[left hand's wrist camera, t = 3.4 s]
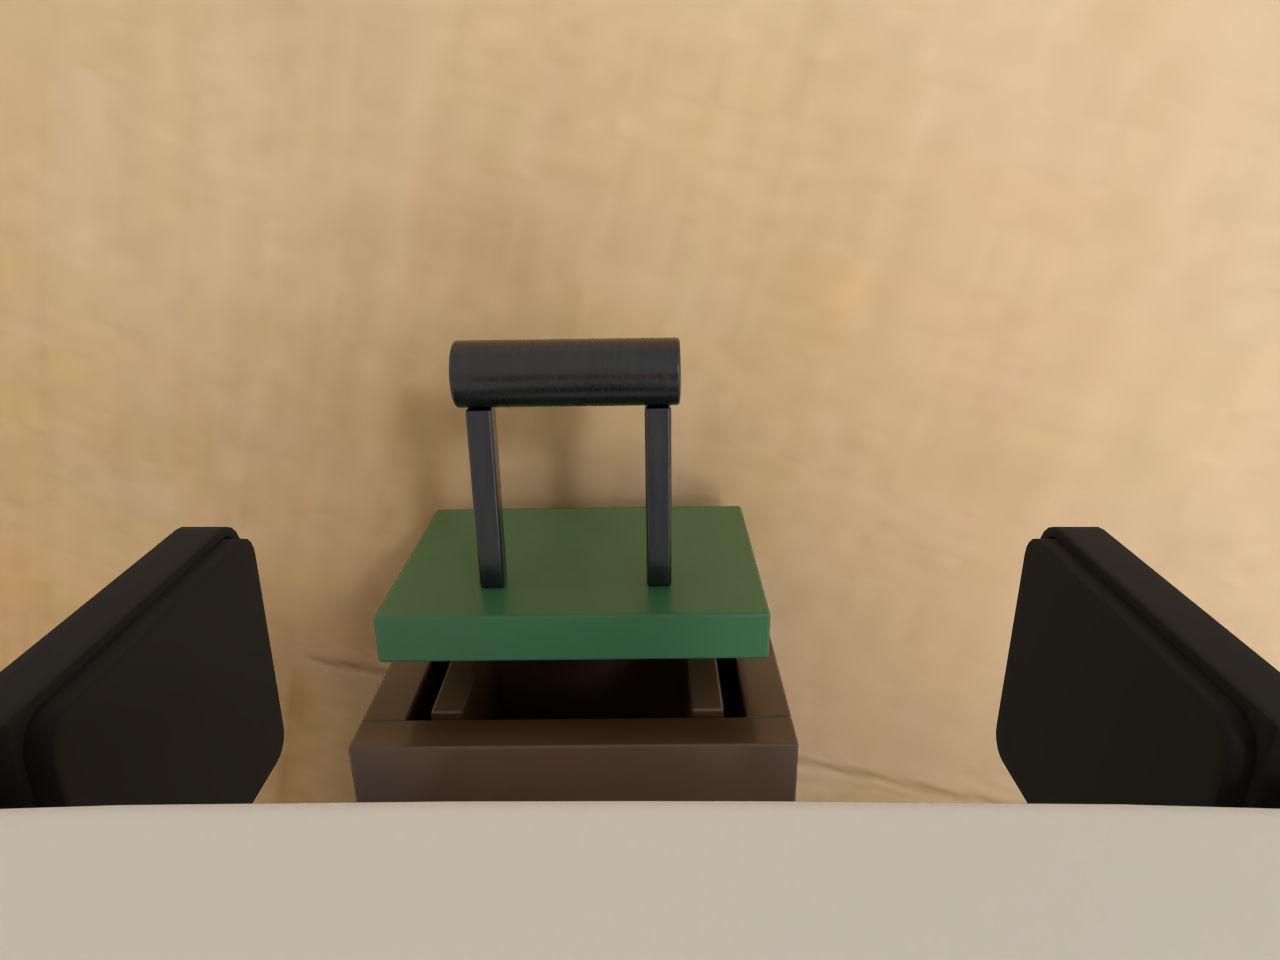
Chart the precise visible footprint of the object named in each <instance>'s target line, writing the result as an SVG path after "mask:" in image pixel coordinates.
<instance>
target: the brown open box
mask: <svg viewBox="0 0 1280 960" xmlns="http://www.w3.org/2000/svg"><path fill="white" fill-rule="evenodd" d="M450 662H451V661H412V662H392V663H391V665H390V667H389V669H388V671H387V673H386V675H385V677H384V679H383V681H382V683H381V685H380V687H379V689H378V691H377V693H376V695H375V697H374V699H373V701H372V703H371V705H370V707H369V709H368V711H367V713H366V715H365V717H364V719H363V722H362V723H361V725H360V727H359V729H358V731H357V733H356V735H355V737H354V739H353V741H352V743H351V744H350V746H349V755H350V762H351V768H352V775H353V782H354V788H355V795H356V801H357V803H364V802H470V801H780V802H795V799H796V781H797V762H798V741H797V737H796V733H795V730H794V726H793V722H792V719H791V714H790V710H789V707H788V703H787V699H786V695H785V692H784V688H783V684H782V680H781V676H780V673H779V669H778V665H777V661H776V657H775V654H774V650H773V646H772V642H771V639H770V638H769V655H768V657H767V658H717V665H718V672H719V679H720V686H721V692H722V699H723V706H724V718H637V719H535V720H433V721H432V717H431V712H432V709H433V706H434V704H435V701H436V699H437V696H438V693H439V691H440V688H441V686H442V683H443V680H444V678H445V675H446V673H447V670H448V667H449V665H450Z"/></svg>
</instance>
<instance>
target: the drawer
mask: <svg viewBox="0 0 1280 960" xmlns="http://www.w3.org/2000/svg"><path fill="white" fill-rule="evenodd" d="M449 382H450V390H451V395H452V399H453V402H454V404H455V406H456V407H459V408H468V409H467V410H466V422H467V434H468V446H469V457H470V469H471V481H472V493H473V505H474V510H438V511H437V512H436V514H435V515H434V517H433V519H432V520H431V522H430V524H429V526H428V527H427V529H426V531H425V532H424V534H423V536H422V537H421V539H420V541H419V542H418V544H417V546H416V548H415V549H414V551H413V553H412V554H411V556H410V558H409V559H408V561H407V563H406V564H405V566H404V568H403V570H402V571H401V573H400V575H399V576H398V578H397V580H396V581H395V583H394V585H393V586H392V588H391V590H390V592H389V593H388V595H387V597H386V598H385V600H384V602H383V603H382V605H381V607H380V608H379V610H378V612H377V614H376V615H375V617H374V626H375V633H376V641H377V648H378V656H379V660H380V661H381V662H412V661H451V662H450V665H449V667H448V670H447V673H446V675H445V678H444V680H443V683H442V686H441V688H440V691H439V693H438V696H437V699H436V701H435V704H434V706H433V709H432V712H431V717H432V721H433V720H535V719H637V718H724V706H723V699H722V692H721V686H720V679H719V672H718V665H717V658H767V657H768V655H769V638H770V612H769V608H768V605H767V601H766V597H765V594H764V590H763V587H762V583H761V579H760V576H759V572H758V568H757V565H756V561H755V558H754V554H753V550H752V547H751V543H750V540H749V536H748V532H747V529H746V525H745V522H744V518H743V514H742V511H741V508H740V507H739V506H728V507H671V405H678V404H679V403H680V389H681V365H680V341H679V338H615V339H542V340H470V341H455V342H453V344H452V347H451V351H450V357H449ZM631 405H645V467H646V507H645V508H562V509H502V497H501V483H500V469H499V456H498V442H497V428H496V414H495V407H555V406H631Z"/></svg>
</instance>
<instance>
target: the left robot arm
mask: <svg viewBox="0 0 1280 960" xmlns="http://www.w3.org/2000/svg"><path fill="white" fill-rule="evenodd" d="M283 741H284V728H283V721H282V715H281V709H280V703H279V697H278V690H277V684H276V678H275V672H274V666H273V660H272V654H271V648H270V642H269V636H268V630H267V623H266V617H265V611H264V605H263V599H262V593H261V587H260V581H259V575H258V569H257V563H256V556H255V552H254V548H253V546H252V544H251V542H250V541H249V540H248V539H240V538H239V536H238V535H237V533H236V531H235V530H233V529H232V528H230V527H181V528H179V529H177V530H175V531H174V532H173V533H172V534H170V535H169V536H168V537H167V538H165V539H164V540H163V541H162V542H161V543H159V544H158V545H157V546H156V547H154V548H153V549H152V550H151V551H149V552H148V553H147V554H146V555H144V556H143V557H142V558H141V559H140V560H138V561H137V562H136V563H135V564H133V565H132V566H131V567H130V568H128V569H127V570H126V571H125V572H123V573H122V574H121V575H120V576H119V577H117V578H116V579H115V580H114V581H112V582H111V583H110V584H109V585H107V586H106V587H105V588H104V589H102V590H101V591H100V592H99V593H98V594H96V595H95V596H94V597H93V598H91V599H90V600H89V601H88V602H86V603H85V604H84V605H83V606H81V607H80V608H79V609H78V610H77V611H75V612H74V613H73V614H72V615H70V616H69V617H68V618H67V619H65V620H64V621H63V622H62V623H60V624H59V625H58V626H57V627H56V628H54V629H53V630H52V631H51V632H49V633H48V634H47V635H46V636H44V637H43V638H42V639H41V640H39V641H38V642H37V643H36V644H35V645H33V646H32V647H31V648H30V649H28V650H27V651H26V652H25V653H23V654H22V655H21V656H20V657H18V658H17V659H16V660H15V661H13V662H12V663H11V664H10V665H9V666H7V667H6V668H5V669H4V670H2V671H1V672H0V960H1280V672H1279V671H1278V670H1276V669H1275V668H1274V667H1273V666H1271V665H1270V664H1269V663H1268V662H1267V661H1265V660H1264V659H1263V658H1262V657H1260V656H1259V655H1258V654H1257V653H1255V652H1254V651H1253V650H1252V649H1250V648H1249V647H1248V646H1247V645H1245V644H1244V643H1243V642H1242V641H1241V640H1239V639H1238V638H1237V637H1236V636H1234V635H1233V634H1232V633H1231V632H1229V631H1228V630H1227V629H1226V628H1224V627H1223V626H1222V625H1221V624H1220V623H1218V622H1217V621H1216V620H1215V619H1213V618H1212V617H1211V616H1210V615H1208V614H1207V613H1206V612H1205V611H1203V610H1202V609H1201V608H1200V607H1199V606H1197V605H1196V604H1195V603H1194V602H1192V601H1191V600H1190V599H1189V598H1187V597H1186V596H1185V595H1184V594H1182V593H1181V592H1180V591H1179V590H1178V589H1176V588H1175V587H1174V586H1173V585H1171V584H1170V583H1169V582H1168V581H1166V580H1165V579H1164V578H1163V577H1161V576H1160V575H1159V574H1158V573H1157V572H1155V571H1154V570H1153V569H1152V568H1150V567H1149V566H1148V565H1147V564H1145V563H1144V562H1143V561H1142V560H1140V559H1139V558H1138V557H1137V556H1136V555H1134V554H1133V553H1132V552H1131V551H1129V550H1128V549H1127V548H1126V547H1124V546H1123V545H1122V544H1121V543H1119V542H1118V541H1117V540H1116V539H1115V538H1113V537H1112V536H1111V535H1110V534H1108V533H1107V532H1106V531H1105V530H1103V529H1101V528H1099V527H1050V528H1048V529H1047V530H1045V531H1044V533H1043V535H1042V536H1041V538H1040V539H1032V540H1031V541H1030V542H1029V544H1028V546H1027V548H1026V552H1025V556H1024V563H1023V569H1022V575H1021V581H1020V587H1019V593H1018V599H1017V605H1016V611H1015V617H1014V623H1013V630H1012V636H1011V642H1010V648H1009V654H1008V660H1007V666H1006V672H1005V678H1004V684H1003V690H1002V697H1001V703H1000V709H999V715H998V721H997V728H996V741H997V747H998V751H999V754H1000V757H1001V759H1002V761H1003V763H1004V764H1005V766H1006V768H1007V769H1008V771H1009V773H1010V774H1011V776H1012V778H1013V779H1014V781H1015V783H1016V785H1017V786H1018V788H1019V790H1020V791H1021V793H1022V795H1023V796H1024V798H1025V800H1026V801H1027V803H1028V804H1012V803H896V802H780V801H470V802H364V803H272V804H252V803H253V801H254V800H255V798H256V796H257V795H258V793H259V791H260V790H261V788H262V786H263V785H264V783H265V781H266V779H267V778H268V776H269V774H270V773H271V771H272V769H273V768H274V766H275V764H276V763H277V761H278V759H279V757H280V754H281V751H282V747H283Z"/></svg>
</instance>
